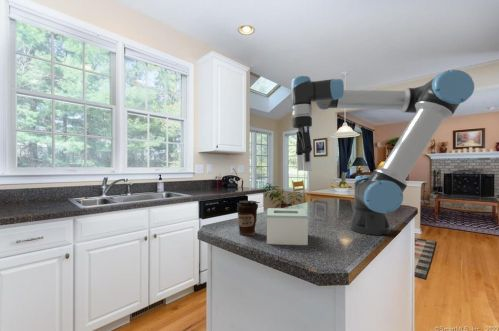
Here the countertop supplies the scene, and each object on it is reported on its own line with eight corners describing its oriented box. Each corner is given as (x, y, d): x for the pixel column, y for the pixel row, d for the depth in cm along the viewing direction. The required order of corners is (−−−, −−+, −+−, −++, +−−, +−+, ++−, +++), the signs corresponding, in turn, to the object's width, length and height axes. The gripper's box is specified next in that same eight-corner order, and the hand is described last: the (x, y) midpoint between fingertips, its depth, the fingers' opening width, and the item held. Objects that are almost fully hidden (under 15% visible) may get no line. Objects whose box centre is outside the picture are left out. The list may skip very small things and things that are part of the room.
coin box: (302, 233, 96) (302, 208, 96) (307, 245, 83) (307, 216, 83) (267, 232, 98) (267, 208, 98) (266, 243, 84) (266, 215, 84)
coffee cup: (255, 237, 91) (255, 203, 91) (234, 236, 93) (234, 202, 93) (259, 231, 100) (259, 200, 100) (240, 230, 102) (240, 199, 102)
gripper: (288, 123, 108) (290, 170, 108) (297, 110, 83) (299, 171, 83) (305, 122, 107) (307, 169, 107) (319, 109, 83) (321, 170, 82)
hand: (303, 170), depth 95 cm, fingers open, 13 cm apart
